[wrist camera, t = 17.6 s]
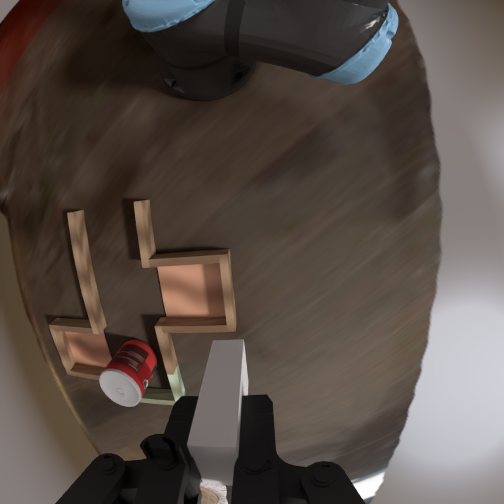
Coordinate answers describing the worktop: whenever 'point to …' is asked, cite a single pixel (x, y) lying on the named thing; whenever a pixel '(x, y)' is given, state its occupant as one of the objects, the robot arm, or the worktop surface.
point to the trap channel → (174, 297)
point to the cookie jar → (213, 494)
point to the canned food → (129, 373)
